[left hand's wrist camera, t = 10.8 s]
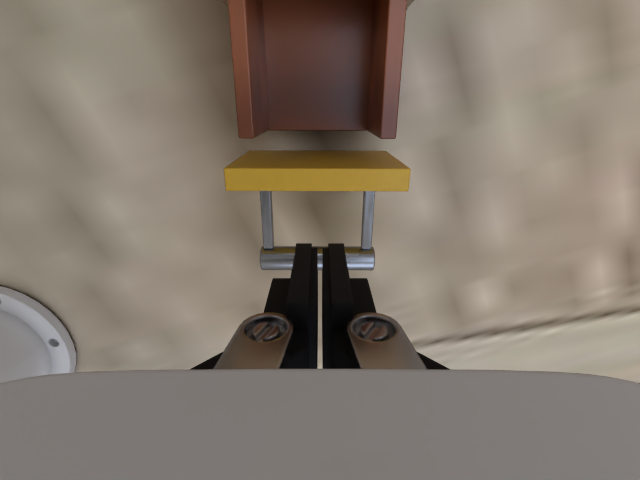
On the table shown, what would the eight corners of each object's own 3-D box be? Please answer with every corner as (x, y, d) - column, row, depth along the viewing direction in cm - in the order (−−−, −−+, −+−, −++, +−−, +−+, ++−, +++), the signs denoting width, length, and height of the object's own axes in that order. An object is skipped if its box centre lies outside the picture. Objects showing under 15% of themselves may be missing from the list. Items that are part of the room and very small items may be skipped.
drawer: (380, 242, 27) (399, 286, 20) (255, 241, 27) (235, 286, 20) (412, -203, 18) (465, -379, 11) (224, -203, 18) (168, -380, 11)
